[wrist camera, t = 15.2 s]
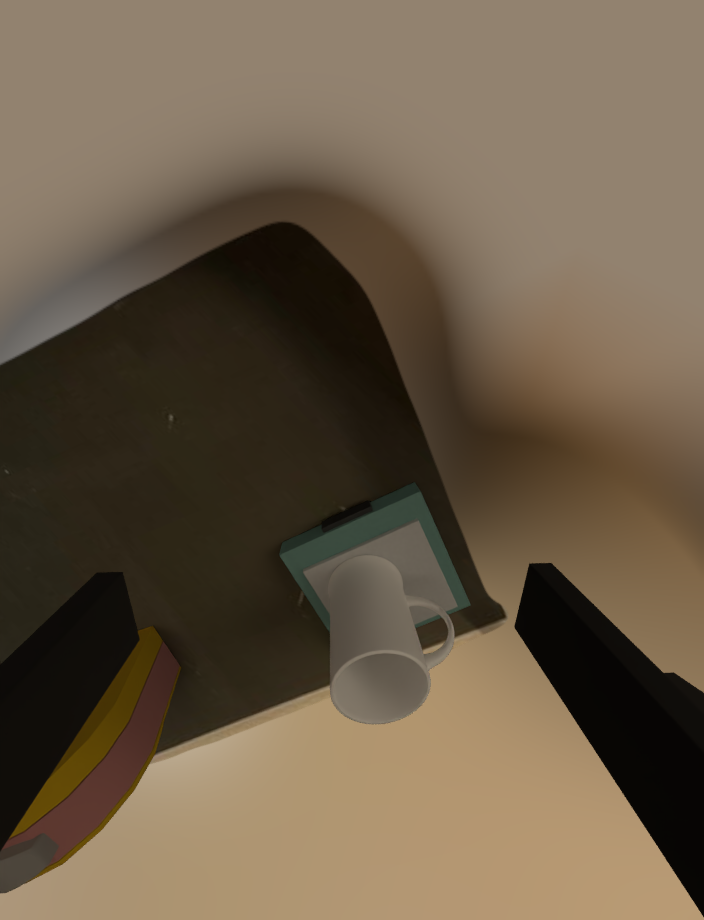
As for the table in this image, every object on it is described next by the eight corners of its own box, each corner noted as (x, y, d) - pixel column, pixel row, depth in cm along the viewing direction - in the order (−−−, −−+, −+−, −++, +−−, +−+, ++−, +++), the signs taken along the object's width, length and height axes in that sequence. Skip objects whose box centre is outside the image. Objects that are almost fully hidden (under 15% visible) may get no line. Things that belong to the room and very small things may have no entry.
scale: (412, 477, 37) (419, 488, 34) (462, 590, 42) (472, 608, 39) (279, 538, 38) (275, 554, 35) (344, 640, 43) (345, 661, 40)
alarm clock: (93, 698, 44) (-64, 926, 26) (57, 655, 41) (-143, 876, 24) (195, 667, 43) (104, 879, 26) (165, 621, 41) (41, 823, 23)
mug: (431, 549, 36) (478, 639, 24) (429, 610, 39) (470, 718, 27) (325, 557, 35) (323, 653, 24) (330, 619, 38) (330, 732, 27)
